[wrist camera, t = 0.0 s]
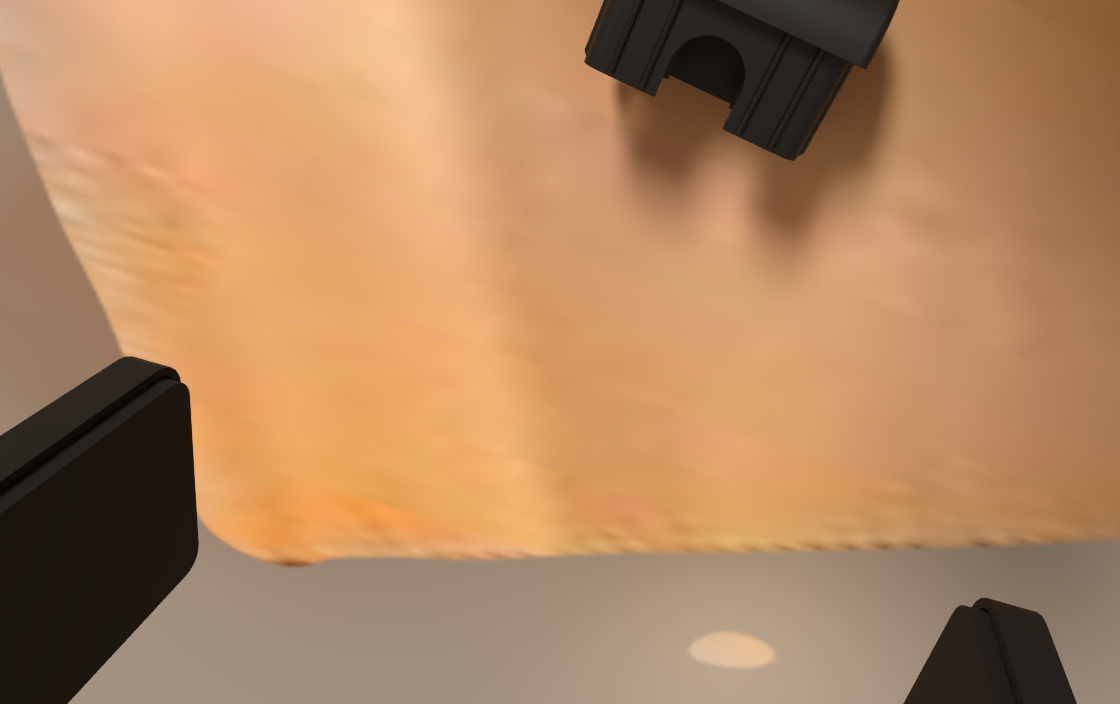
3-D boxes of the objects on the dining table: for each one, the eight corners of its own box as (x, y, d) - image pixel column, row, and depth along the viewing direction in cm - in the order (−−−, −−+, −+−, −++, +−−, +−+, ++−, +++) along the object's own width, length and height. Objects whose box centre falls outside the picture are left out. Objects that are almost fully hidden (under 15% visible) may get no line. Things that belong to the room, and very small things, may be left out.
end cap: (893, -28, 33) (918, -19, 28) (803, 134, 37) (807, 173, 31) (668, -133, 34) (644, -146, 28) (599, 39, 37) (565, 59, 31)
